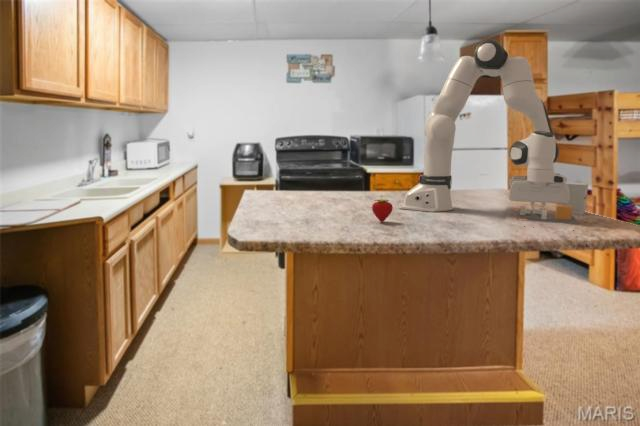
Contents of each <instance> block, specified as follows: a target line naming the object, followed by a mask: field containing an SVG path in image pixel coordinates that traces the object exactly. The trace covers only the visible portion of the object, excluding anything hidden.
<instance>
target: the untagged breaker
mask: <svg viewBox="0 0 640 426" xmlns="http://www.w3.org/2000/svg"><path fill="white" fill-rule="evenodd" d="M525 211H526V205H520V212H519V213H520V215H524V216H525Z"/></svg>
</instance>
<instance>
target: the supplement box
mask: <svg viewBox="0 0 640 426" xmlns="http://www.w3.org/2000/svg"><path fill="white" fill-rule="evenodd" d="M566 184H567V185H568V187H569V202H568V203H567V204H562V205H571V206H572V215H579V216H583V215H584V214H586V207H587V199H588V198H587V197H588V189H589V183H587V182H586V183H585V182H583V183H582V182H566Z"/></svg>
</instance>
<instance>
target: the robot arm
mask: <svg viewBox="0 0 640 426" xmlns="http://www.w3.org/2000/svg"><path fill="white" fill-rule="evenodd" d="M479 78H482V79H498V78H500V79H501V84H502V94H503V99H504V102H505V104H506V105H507V106H508V108H510V109H512V110H514V111H516V112H520V113H521V114H524V115H525V116H527V117H528V118H529V119H530V121H531V122H532V124H533V127H534V131H533V132H531V133H530V135H529V136H527V137H525V138H523V139H520V140H515V142H513V144H512V145H511V146H510V148H509V159H510V160H511V162H512V163H513V164H514V165H516V166H518V167H519V166H520V167H521V166H522V167H523V166H524V167H527V170H526V175H523V176H522V175H520V176H519V175H514V176H512V177H510V178H509V180H508V186H509V193H508V199H509V201H511V202H525V203H530V206H531V208H532V214H537V215H541V214H542V210H543V209H544V208H545V207H546V203H547V204H561V205H563V204H567V203H568V202H569V187H568V185H567V184H566V183H568V178H567V176H565V175H563V174H560V173H557V172H555V166H554V164H555V162H557V160H558V158H559V156H560V148H559V144H558V143H557V141H556V137H555V134H553V133H554V132H553V129H552V125H551V121H550V118H549V114H548V111H547V108H546V107H547V106H546V105H545V103H544V101H543V100H542V99H541V98H540V97H539V95H538V93H537V89H536V87H535V83H534V82H535V81H534V76H533V71H532V68H531V65H530V62H529V60H528V59H527V57H524V56H509V53H508V52H507V50H506V49H505V48H504V47H503V46H502V45H501V44H500V43H499V42H497V41H496V40H491V39H490V40H484V41H482V42H481V43H479V44H478V45H477V46H476V48H475V50H474V53H473V56H470V55H463V56H460V57H459V58H458V59H457V60H456V61H455V64H454V65H453V66H452V67H451V70H450V72H449V74H448V76H447V78H446V79H445V82H444V85H443V87H442V88H441V91H440V94H439V96H438V98H437V100H436V101H435V103H434V104H433V107H432V109H431V111H430V112H429V114H428V116H427V119H426V121H425V122H424V125H423V132H424V135H425V137H426V141H425V142H426V144H425V150H424V151H425V152H424V158H423V161H424V162H423V174H420V175H419V176H418V183H417V184H416V185H414V186H413V187H412V188H411V189H410V190H408V191H407V192H406V193H405V197H404V200H403V202H401V203H399V204H398V208H399V209H401V210H411V211H421V212H432V213H436V212H448V211H451V210H453V209H454V207H453V203H452V196H451V195H452V194H451V189H452V184H453V179H452V178H453V177H452V157H453V151H454V144H455V138H456V137H455V136H456V129H457V128H456V123H455V122H456V121H457V119H458V118H459V116H460V115H461V112H462V111H463V109H464V108H465V106H466V103H467V102H468V100H469V97H470V95H471V94H472V93H471V92H472V91H473V88H474V87H475V84H476V82H477V80H478V79H479ZM536 203H540V205H541V207H540V208H536V207H535V205H536Z"/></svg>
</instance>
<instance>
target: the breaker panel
mask: <svg viewBox="0 0 640 426" xmlns="http://www.w3.org/2000/svg"><path fill="white" fill-rule="evenodd" d="M516 220H517V221H524V222H539V223H540V222H541V223H553V224H554V223H556V224H568V225H569V224H571V225H579V222H578V221H577V219H576V218H575V216H573V215H572V217H571V219H556V217H555V214H547V216H546V220H544V219H541V215H537V214H533V213H532V211H531V210H530V211H529V210H525V216H524V215H520V212H516Z"/></svg>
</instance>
